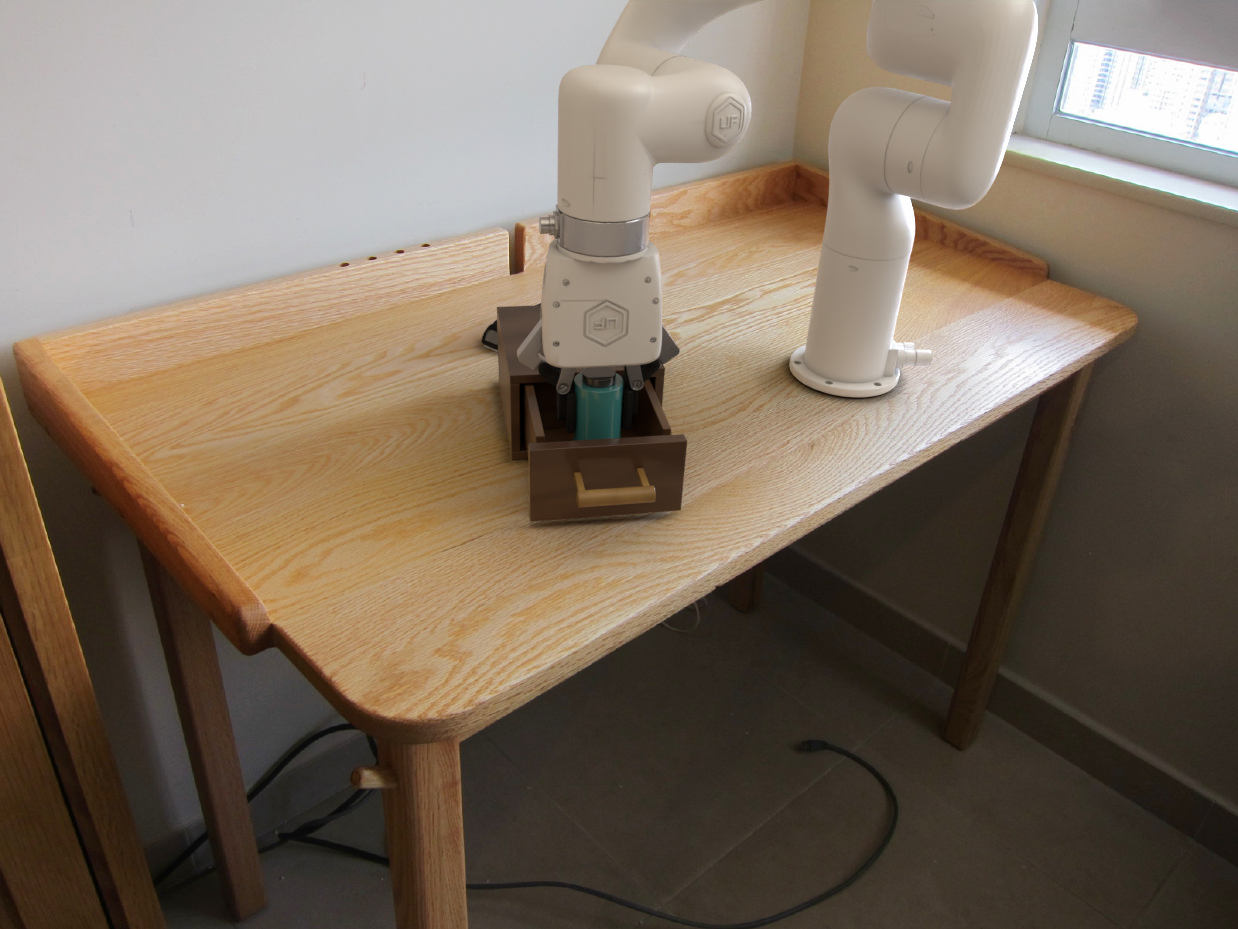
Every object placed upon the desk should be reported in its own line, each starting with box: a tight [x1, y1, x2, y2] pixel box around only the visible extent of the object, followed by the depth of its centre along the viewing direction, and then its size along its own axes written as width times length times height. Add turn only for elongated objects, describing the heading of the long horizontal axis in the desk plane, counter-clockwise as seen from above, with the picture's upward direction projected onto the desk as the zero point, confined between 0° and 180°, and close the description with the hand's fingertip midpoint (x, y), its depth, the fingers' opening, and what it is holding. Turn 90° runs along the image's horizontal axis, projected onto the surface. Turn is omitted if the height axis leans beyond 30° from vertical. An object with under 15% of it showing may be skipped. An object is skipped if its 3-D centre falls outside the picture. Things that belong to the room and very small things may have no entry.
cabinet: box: [496, 304, 666, 460], centre depth 101 cm, size 16×15×9 cm
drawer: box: [522, 378, 688, 522], centre depth 89 cm, size 19×14×7 cm
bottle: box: [573, 367, 624, 441], centre depth 89 cm, size 4×4×10 cm
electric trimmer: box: [481, 302, 541, 352], centre depth 121 cm, size 4×16×3 cm, turn 142°
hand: (596, 422), depth 89 cm, fingers closed on bottle, 4 cm apart
